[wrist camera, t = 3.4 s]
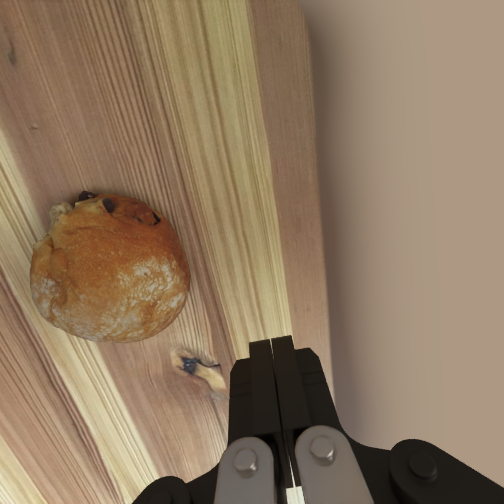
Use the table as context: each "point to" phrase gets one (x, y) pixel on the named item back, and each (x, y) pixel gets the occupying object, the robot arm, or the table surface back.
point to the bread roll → (109, 269)
